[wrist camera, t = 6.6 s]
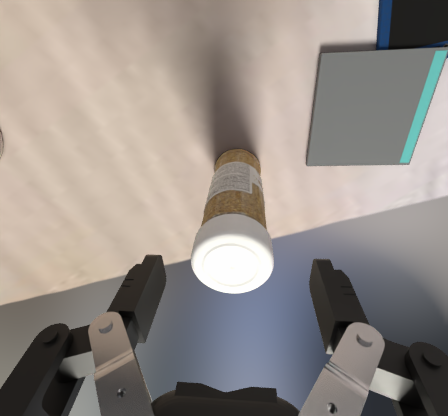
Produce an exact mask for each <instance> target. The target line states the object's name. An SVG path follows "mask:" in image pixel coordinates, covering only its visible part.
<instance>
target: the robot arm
mask: <svg viewBox="0 0 448 416" xmlns="http://www.w3.org/2000/svg"><path fill="white" fill-rule="evenodd" d="M2 153H3V140H2V135H1V132H0V158H1V156H2ZM165 285H166V273H165V268H164V264H163V259H162V256H161V255H146V256H145V258H144V260H143V262H142V264H136V265H135V266H134V267H133V268H132V269H131V270H129V272H128V274H127V276H126V278H125V280H124V281H123V283H122V285H121V287H120V288H119V290H118V292H117V294H116V296H115V298H114V299H113V301H112V303H111V305H110V307H109V309H108V310H107V312H106V313H103V314H101V315H100V316H98V317H97V318H95V319H94V320H93V322H92V323H91V324H90V325H87V326H84V327H80V328H75V329H71V330H69V328H68V326H67V325H65V324H61V323H59V324H54V325H51V326H49V327H47V328H45V329H44V330H43V331H41V332H40V333H39V334H38V335H37V336H36V338H35V339H34V340H33V342H32V343H31V345H30V347H29V348H28V349H27V351H26V352H25V354H24V355H23V356H22V358H21V359H20V361H19V362H18V364H17V365H16V367H15V368H14V370H13V371H12V373H11V374H10V376H9V377H8V378H7V380H6V381H5V383H4V384H3V386H2V387H1V389H0V416H68V415H69V413H70V411H71V408H72V406H73V404H74V402H75V399H76V397H77V395H78V393H79V390H80V388H81V386H82V383H83V381H84V379H85V377H86V376H88V375H91V374H94V380H95V385H96V391H97V396H98V402H99V407H100V412H101V416H360V414H361V412H362V409H363V406H364V404H365V401H366V398H367V395H368V392H369V390H372V391H374V392H377V393H379V394H382V395H384V396H387V397H389V398H391V399H392V402H393V405H394V408H395V411H396V413H397V416H448V356H447V355H446V354H445V353H444V352H443V351H441V350H440V349H438V348H437V347H435V346H433V345H431V344H428V343H424V342H416V343H413V344H412V345H411V346H410V348H409V347H406V346H403V345H400V344H397V343H394V342H391V341H388V340H386V339H384V338H383V337H382V336H381V335H380V333H379V332H378V331H377V330H376V329H374V328H373V327H371V326H370V325H369V323H368V320H367V318H366V316H365V314H364V312H363V309H362V307H361V305H360V303H359V300H358V298H357V296H356V293H355V291H354V289H353V287H352V284H351V282H350V280H349V278H348V277H347V276H346V275H345V274H344V273H343V272H342V271H341V270H334V269H333V266H332V263H331V261H330V260H329V259H314V260H313V264H312V269H311V275H310V281H309V285H310V293H311V297H312V301H313V305H314V309H315V313H316V317H317V321H318V324H319V328H320V332H321V336H322V340H323V344H324V348H325V352H326V354H333V356H332V358H331V359H330V361H329V363H327V364H326V365H325V367H324V368H323V370H322V372H321V374H320V376H319V378H318V379H317V381H316V383H315V385H314V387H313V389H312V391H311V393H310V394H309V396H308V398H307V400H306V402H305V404H304V405H303V407H302V409H301V411H299V410H298V409H297V408H296V407H294V406H293V405H292V404H290V403H288V402H287V401H285V400H284V399H282V398H279V397H277V393H276V389H275V388H259V387H249V388H244V389H240V390H235V391H231V392H222V391H219V390H217V389H214V388H211V387H209V386H206V385H204V384H201V383H187V382H177V386H176V390H173V391H170V392H167V393H165V394H163V395H162V396H160V397H158V398H157V399H155V400H154V401H153V402H152V400H151V397H150V394H149V391H148V389H147V386H146V383H145V380H144V378H143V374H142V372H141V368H140V366H139V363H138V360H137V357H136V354H135V351H134V350H135V347H136V345H137V343H145V342H146V339H147V336H148V333H149V331H150V328H151V325H152V322H153V319H154V316H155V314H156V310H157V308H158V305H159V302H160V300H161V297H162V294H163V291H164V288H165Z"/></svg>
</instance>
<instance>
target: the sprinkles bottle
mask: <svg viewBox="0 0 448 416" xmlns="http://www.w3.org/2000/svg"><path fill="white" fill-rule="evenodd" d="M214 171H215V172H214V173H215V174H214V176H213V178H212V182H211V186H210V189H209V193H208V197H207V201H206V205H205V209H204V217H203V221H202V225H201V228H200V229H199V230H198V232H197V234H196V237H195V241H194V245H193V249H192V254H191V264H192V268H193V271H194V273H195V274H196V276H197V277H198V278H199V279H200V281H202V282H203V283H204V284H205V285H207V286H208V287H210V288H212V289H214V290H217V291H221V292H225V293H242V292H247V291H250V290H253V289H255V288H257V287H259V286H260V285H262V284H263V283H264V282H265V281H266V280H267V279H268V278H269V276H270V275H271V272H272V270H273V265H274V259H273V249H272V243H271V238H270V235H269V233H268V232H267V228H266V220H265V204H264V196H263V188H262V181H261V177H260V174H261V169H260V164H259V162H258V160H257V159H256V157H255V156H254V155H253V154H251V153H250V152H248V151H246V150H243V149H233V150H229V151H227V152H225V153H223V154H222V155H221V156H220V157H219V158H218V160H217V162H216V164H215V168H214Z"/></svg>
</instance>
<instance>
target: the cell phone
mask: <svg viewBox="0 0 448 416" xmlns="http://www.w3.org/2000/svg"><path fill="white" fill-rule="evenodd" d="M439 47H448V0H379V12H378V28H377V44H376V50H398V49H419V48H439ZM446 58H448V54H447V57H446Z"/></svg>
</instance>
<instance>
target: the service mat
mask: <svg viewBox="0 0 448 416" xmlns="http://www.w3.org/2000/svg"><path fill="white" fill-rule="evenodd" d="M447 54H448V47H439V48H419V49H398V50H375V51H354V52H334V53H320V56H319V64H318V72H317V80H316V88H315V95H314V103H313V111H312V119H311V127H310V135H309V142H308V150H307V158H306V165H307V166H350V165H409V164H410V161H411V158H412V155H413V152H414V149H415V146H416V144H417V141H418V138H419V135H420V132H421V129H422V126H423V123H424V121H425V118H426V115H427V112H428V109H429V106H430V103H431V100H432V98H433V95H434V92H435V89H436V86H437V83H438V80H439V77H440V75H441V72H442V69H443V66H444V63H445V60H446V57H447Z"/></svg>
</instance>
